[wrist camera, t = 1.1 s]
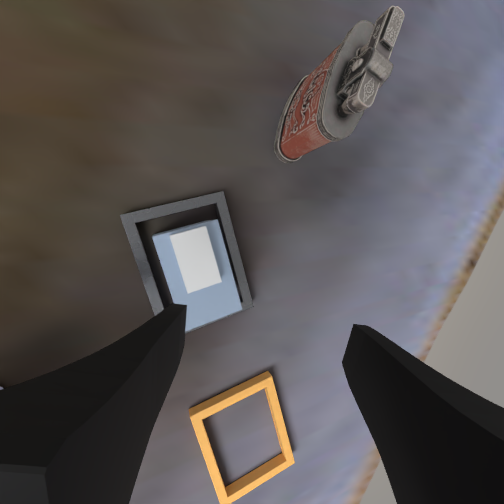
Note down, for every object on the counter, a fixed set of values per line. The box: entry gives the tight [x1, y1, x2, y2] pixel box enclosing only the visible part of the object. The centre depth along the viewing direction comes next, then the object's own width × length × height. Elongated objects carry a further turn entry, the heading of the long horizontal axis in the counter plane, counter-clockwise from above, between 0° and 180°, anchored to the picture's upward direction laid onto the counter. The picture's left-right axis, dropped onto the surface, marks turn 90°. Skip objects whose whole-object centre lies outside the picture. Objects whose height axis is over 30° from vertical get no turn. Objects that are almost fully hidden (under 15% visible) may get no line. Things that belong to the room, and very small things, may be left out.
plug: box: [152, 219, 242, 332], centre depth 20 cm, size 4×7×5 cm, turn 15°
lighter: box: [274, 6, 404, 163], centre depth 19 cm, size 8×3×10 cm, turn 158°
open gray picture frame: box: [120, 191, 254, 334], centre depth 21 cm, size 8×11×1 cm
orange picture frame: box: [189, 371, 295, 504], centre depth 25 cm, size 8×11×1 cm
